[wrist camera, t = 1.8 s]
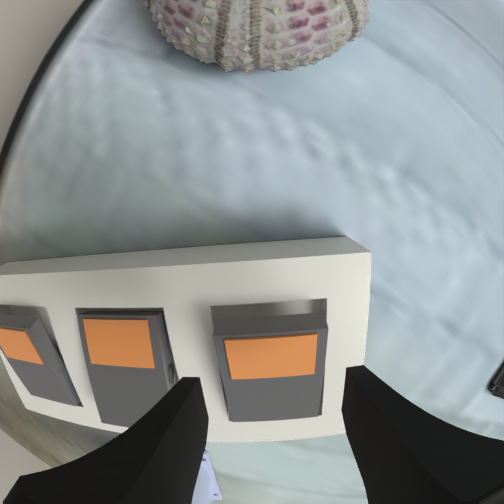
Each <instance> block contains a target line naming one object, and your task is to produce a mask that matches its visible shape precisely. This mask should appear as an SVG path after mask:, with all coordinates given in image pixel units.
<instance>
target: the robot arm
mask: <svg viewBox="0 0 504 504" xmlns="http://www.w3.org/2000/svg"><path fill="white" fill-rule="evenodd" d="M341 411H342V416H343V421H344V426H345V430H346V434H347V437H348V440H349V443H350V445H351V448H352V451H353V454H354V457H355V459H356V462H357V465H358V468H359V471H360V473H361V476H362V479H363V482H364V486H365V489H366V494H367V499H368V504H504V441H503V440H498V439H493V438H489V437H485V436H481V435H478V434H475V433H472V432H469V431H466V430H463V429H461V428H458V427H456V426H453V425H451V424H449V423H447V422H445V421H443V420H441V419H439V418H437V417H435V416H433V415H431V414H429V413H427V412H426V411H424V410H422V409H421V408H419V407H418V406H416V405H415V404H413V403H411V402H410V401H409V400H407V399H406V398H404V397H403V396H401V395H400V394H399V393H397V392H396V391H395V390H393V389H392V388H391V387H390V386H388V385H387V384H386V383H385V382H383V381H382V380H381V379H380V378H378V377H377V376H376V375H375V374H374V373H372V372H371V371H370V370H369V369H367V368H366V367H365V366H364V365H360V366H353V367H346V374H345V384H344V392H343V401H342V408H341ZM208 423H209V416H208V412H207V408H206V404H205V399H204V395H203V390H202V385H201V381H200V377H182V378H181V379H180V380H179V381H178V382H177V383H176V384H175V385H174V386H173V387H172V388H171V389H170V390H169V391H168V392H167V393H166V394H165V395H164V396H163V397H162V398H161V399H160V400H159V401H158V402H157V403H156V404H155V405H154V406H153V407H152V408H151V409H150V410H149V411H148V412H147V413H146V414H145V415H144V416H143V417H141V418H140V419H139V420H138V421H137V422H136V423H134V424H133V425H132V426H131V427H130V428H128V429H127V430H126V431H124V432H123V433H122V434H120V435H119V436H117V437H116V438H114V439H113V440H111V441H110V442H108V443H107V444H105V445H103V446H102V447H100V448H98V449H96V450H94V451H92V452H90V453H88V454H86V455H84V456H83V457H80V458H78V459H76V460H74V461H71V462H69V463H66V464H63V465H61V466H58V467H55V468H52V469H49V470H45V471H41V472H37V473H32V474H28V475H23V476H20V477H19V479H18V480H17V481H16V483H15V484H14V486H13V487H12V489H11V490H10V492H9V493H8V495H7V497H6V498H5V500H4V501H3V504H212V501H213V500H221V499H222V495H221V492H220V489H219V486H218V483H217V480H216V477H215V474H214V471H213V468H212V464H211V461H210V458H209V454H208V453H207V452H205V451H204V450H205V446H206V441H207V433H208Z"/></svg>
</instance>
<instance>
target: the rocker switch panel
mask: <svg viewBox="0 0 504 504" xmlns="http://www.w3.org/2000/svg"><path fill="white" fill-rule="evenodd" d="M370 278H371V252H370V251H369V250H367V249H366V248H364V247H363V246H361V245H360V244H358V243H357V242H355V241H354V240H352V239H350V238H349V237H347V236H345V237H330V238H314V239H299V240H284V241H269V242H255V243H241V244H227V245H213V246H199V247H186V248H173V249H160V250H147V251H134V252H122V253H109V254H97V255H85V256H73V257H62V258H50V259H39V260H27V261H16V262H8V263H6V264H3V265H1V266H0V314H9V315H20V316H33V317H39V318H40V320H41V322H42V324H43V326H44V328H45V330H46V332H47V334H48V336H49V338H50V340H51V342H52V344H53V346H54V348H55V349H56V351H57V353H58V354H61V355H62V357H63V360H64V362H65V367H66V369H67V370H68V373H69V375H70V377H71V380H72V382H73V385H74V387H75V389H76V391H77V394H78V396H79V398H80V401H79V403H78V406H72V405H68V404H64V403H59V402H55V401H52V400H48V399H44V398H40V397H37V396H33V395H31V394H30V393H29V392H28V390H27V389H26V387H25V386H24V385H23V383H22V382H21V380H20V379H19V377H18V376H17V374H16V373H15V371H14V370H13V368H12V367H11V365H10V364H9V362H8V361H7V359H6V357H5V356H4V354H3V352H2V351H1V349H0V355H1V358H2V360H3V362H4V365H5V367H6V369H7V371H8V374H9V376H10V378H11V380H12V382H13V384H14V386H15V388H16V390H17V392H18V394H19V396H20V398H21V400H22V402H23V404H24V406H25V408H26V409H28V410H31V411H34V412H37V413H41V414H44V415H47V416H50V417H54V418H57V419H61V420H64V421H68V422H72V423H76V424H80V425H84V426H89V427H93V428H98V429H103V430H108V431H113V432H119V433H123V432H124V431H126V430H127V429H128V427H122V426H116V425H110V424H105V423H102V422H101V419H100V416H99V412H98V409H97V406H96V402H95V399H94V395H93V391H92V387H91V384H90V380H89V375H88V371H87V367H86V362H85V358H84V353H83V348H82V343H81V338H80V332H79V326H78V320H77V315H78V314H80V313H83V312H86V311H164V315H165V323H166V331H167V338H168V345H169V352H170V359H171V363H172V365H173V367H174V384H176V383H177V382H178V381H179V380H180V379H181V378H182V377H200V381H201V385H202V390H203V395H204V399H205V404H206V408H207V412H208V416H209V423H208V433H207V441H206V442H266V441H283V440H295V439H305V438H314V437H322V436H329V435H336V434H343V433H346V430H345V426H344V421H343V416H342V411H341V408H342V401H343V392H344V384H345V374H346V367H353V366H360V365H363V364H364V356H365V347H366V337H367V326H368V313H369V298H370ZM317 312H324V315H325V318H326V322H327V325H328V339H327V349H326V359H325V368H324V376H323V384H322V392H321V399H320V406H319V413H318V417H310V418H301V419H290V420H276V421H257V422H232V418H231V414H230V410H229V406H228V402H227V398H226V394H225V390H224V386H223V381H222V377H221V373H220V368H219V364H218V359H217V355H216V350H215V346H214V341H213V330H214V324H215V319H230V318H250V317H266V316H281V315H294V314H306V313H317Z"/></svg>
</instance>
